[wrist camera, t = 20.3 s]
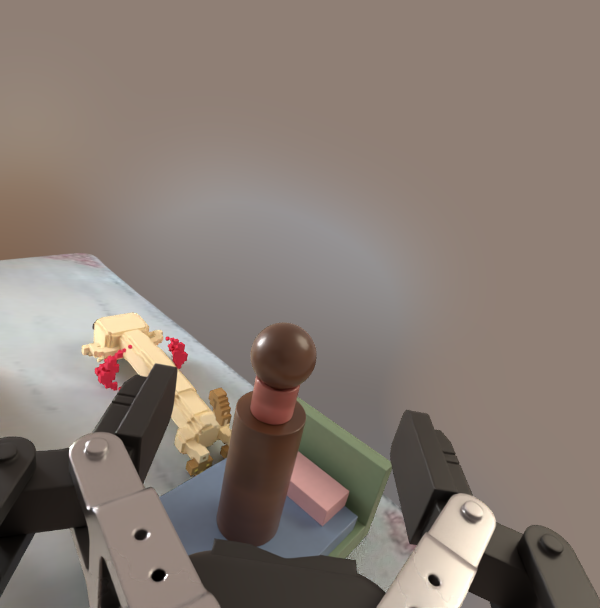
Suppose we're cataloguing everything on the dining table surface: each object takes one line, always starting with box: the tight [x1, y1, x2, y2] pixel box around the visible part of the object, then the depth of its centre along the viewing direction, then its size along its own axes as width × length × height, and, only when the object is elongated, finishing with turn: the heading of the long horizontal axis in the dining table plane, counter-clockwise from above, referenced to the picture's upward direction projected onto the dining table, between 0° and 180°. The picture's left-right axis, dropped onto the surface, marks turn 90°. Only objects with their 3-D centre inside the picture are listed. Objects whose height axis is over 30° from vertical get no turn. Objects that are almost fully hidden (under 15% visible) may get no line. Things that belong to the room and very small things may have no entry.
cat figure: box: [82, 313, 232, 476], centre depth 47 cm, size 10×9×25 cm
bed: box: [159, 397, 392, 559], centre depth 33 cm, size 12×18×8 cm, turn 139°
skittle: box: [216, 323, 316, 547], centre depth 30 cm, size 5×5×16 cm
